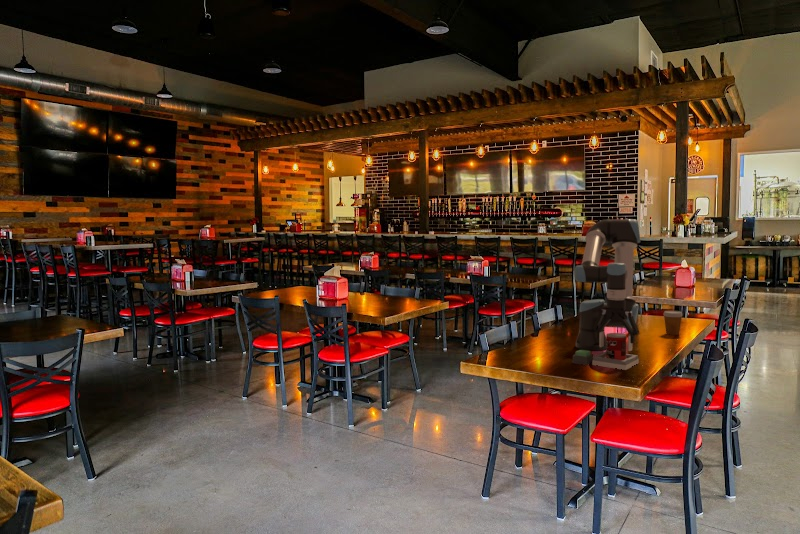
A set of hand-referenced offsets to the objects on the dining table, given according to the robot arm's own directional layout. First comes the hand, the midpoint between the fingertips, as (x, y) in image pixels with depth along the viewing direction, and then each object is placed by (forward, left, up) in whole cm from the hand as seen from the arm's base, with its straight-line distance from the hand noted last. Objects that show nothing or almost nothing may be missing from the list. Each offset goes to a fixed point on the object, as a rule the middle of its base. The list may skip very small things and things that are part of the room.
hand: (615, 348), depth 249 cm
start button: (+6, -12, -5) cm, 14 cm away
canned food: (0, 0, -5) cm, 5 cm away
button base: (+6, -12, -7) cm, 15 cm away
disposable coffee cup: (-81, -2, -7) cm, 81 cm away
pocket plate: (0, 0, -7) cm, 7 cm away
